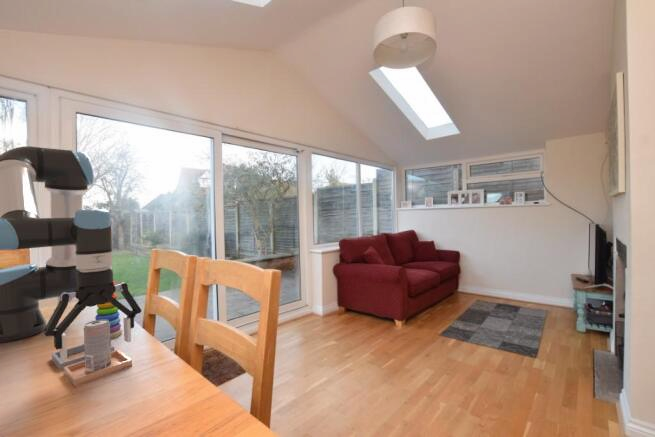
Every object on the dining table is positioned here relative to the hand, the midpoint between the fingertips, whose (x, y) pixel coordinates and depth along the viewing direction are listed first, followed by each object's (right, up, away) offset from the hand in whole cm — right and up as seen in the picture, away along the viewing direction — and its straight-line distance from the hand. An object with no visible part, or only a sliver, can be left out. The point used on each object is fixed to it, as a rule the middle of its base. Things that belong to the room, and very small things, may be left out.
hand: (97, 350), depth 78 cm
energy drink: (0, -5, 0) cm, 5 cm away
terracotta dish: (0, -5, 0) cm, 5 cm away
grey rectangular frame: (-10, -5, +8) cm, 14 cm away
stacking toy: (-13, -5, +22) cm, 26 cm away
